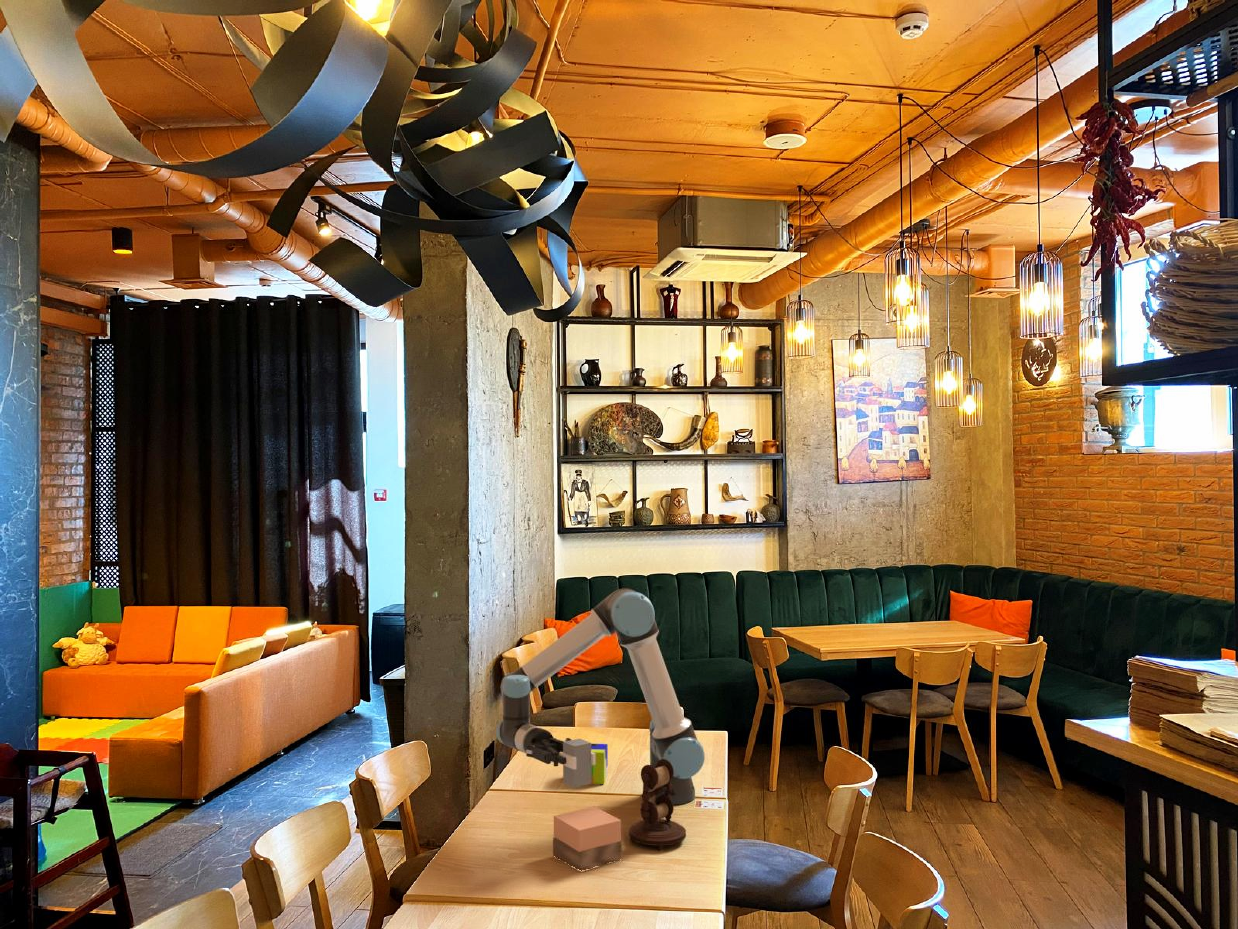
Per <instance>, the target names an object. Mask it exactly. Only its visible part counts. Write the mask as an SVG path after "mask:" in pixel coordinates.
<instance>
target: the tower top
mask: <svg viewBox="0 0 1238 929" xmlns="http://www.w3.org/2000/svg"><path fill="white" fill-rule="evenodd" d="M554 837H555V838H557V839H559V840H560V841H562V842H564V843H565V844H567V845H569V846H570V847H572V848H574V849H575V850H577V851H578V852H582V851H585V850H589V849H593V848H597V847H600V846H604V845H608V844H612V843H615V842H619V841H621V842H622V819H620V818H617V817H616V816H614V815H612V814H609V813H607V812H606V811H604V810H602V809H600V808H598V807H596V806H591V807H587V808H582V809H578V810H573V811H569V812H565V813H561V814H557V815H553V838H554Z"/></svg>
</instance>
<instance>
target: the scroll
mask: <svg viewBox="0 0 1238 929" xmlns="http://www.w3.org/2000/svg"><path fill="white" fill-rule="evenodd" d="M673 775H674V770H673V766H672V764H671V763H670V762H669V761H668V760H666V759H661V760H659V761H658V763H657V765H656V768H654V767H653V766H651V765H650V764H646V765H643V766H642V768H641V771H640V779H641V781H642V794H641V804H640V817H641V819H642V820H640V821H638V822H635V824H633V825H631V826H630V827H629V828H628V837H629V841H630V842H635V843H639V844H641V845H644V846H645V845H647V846H658V848H659V850H660V851H661V850H662V851H663V849H664V846H670V845H671V846H672V845H674V844H679V843H680V842H683V841H684V840H686V836H687V830H686V828H685V827H684V826H683V825H682V824H680V823H678V822H676V821H673V820H671V819H672V815H673V813H674V805H673V803H672V801H671V796H670V792H671V790H672V784H671V783H670V782H671V779H672V777H673ZM662 785H664V786H662ZM660 786H662V787H661V788H657V787H660ZM662 792H666V795H660V796H659V797H658V798H657V800H656V803H655V796H656V795H659V794H661V793H662ZM664 818H665V819H664Z"/></svg>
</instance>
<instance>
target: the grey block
mask: <svg viewBox="0 0 1238 929" xmlns="http://www.w3.org/2000/svg"><path fill="white" fill-rule="evenodd" d="M564 741H565V740H564ZM591 744H592V742H590V741H588V740H584V739H583V738H576V739H571V740H570V741H565V742H563V753H565V754H568V755H571V756H573V757H576V769H575V770H574V769H571V768H569V767H566V766H564V765H562V767H563V768H562V769H563V770H562V773H563V774H562V775H563V776H562V777H563V778H562V780H563V781H562V782H563V784H565V785H567V786H569V787H572V788H575V789H577V788H579V787H583V786H584V787H585V786H588V784H591Z"/></svg>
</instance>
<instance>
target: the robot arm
mask: <svg viewBox="0 0 1238 929" xmlns="http://www.w3.org/2000/svg"><path fill="white" fill-rule="evenodd" d="M655 612H656V611H655V609H654V606H653V604H652V602H651V600H650V599H649V598H648V597H647V596H646V595H644V594H643V593H641V592H639V591H638V592H637V591H636V590H634V589H631V588H627V587H626V588H620V589H617V590H615V591H613V592H612V593H610V594H609V595H607V596H606V597H605V598H604V599H603V600H602V601H601V602H599V603H598V604H597V605H596V606H595V607H593V608H591V610H590V614H589V615H588V616H587V617H586V618H584V619H583V620H581V621H580V622H579V623H577V624H576V625H575V626H574V627H572V628H571V629H570V630H568V631H567V632H565V633H564V634H562V635H561V636H560V637H559V638H557V639H556V640H555V641H553V642H552V643H551V644H549V645H548V646H547V647H545V648H544V649H543V650H542V651H540V652H539V653H538V654H537V655H535V656H533V657H532V658H531V659H529V660H528V661H527V662H525V663H524V664H523V665H521V666H520V667H519V668H518V669H516V670H515V671H514V672H512V671H511V672H509V673H507V674H506V675H505V676H504V677H503V678H502V680H501V683H500V687H499V688H500V693H501V697H502V719H501V720H500V721H499V722H498V724H497V726H496V728H495V735H496V738H497V739H498V741H499V742H500V743H501V744H503V745H504V746H505V747H508V748H511V749H514V750H516V751H519V752H520V753H523V754H526V755H525V756H526V757H529V758H533V759H535V760H537V761H540V762H541V763H544V764H546V765H550V764H551V763H553V766H554V767H558V766H559V764H560V765H562V766H563V765H564V766H566V767H569V768H571V769H574V770H575V769H576V757H573V756H571V755H568V754H565V753H563V742H565V741H570V740H572V739H571V738H569V737H565V740H561V739H558V738H556V737H554V736H553V735H552V733H551V732H550V731H549V730H547V729H544V728H541V727H539V726H536V725H533V724H531V712H530V711H531V707H530V706H531V692H533V691H535V689H537V688H538V687H539V686H541V685H542V684H543V683H545V682H546V681H547V680H548V679H549V678H551V677H553V676H554V675H555V674H556V673H558V672H559V671H561V670H562V669H563V668H565V667H566V666H567V665H569V664H570V663H571V662H573V660H575V659H576V658H578V657H579V656H580V655H582V654H583V653H584V652H586V651H587V650H589V649H590V648H591V647H593V645H595V644H597V643H598V642H599V641H601V640H602V639H603V638H605V637H606V636H607V637H611V636H613V635H614V634H615V635H616V637H617V639H618V643H619V645H620V646H621V647H623V648H625V649H627V652H628V655H629V658H630V660H631V663H632V666H633V668H634V672H635V674H636V677H637V680H638V682H639V686H640V689H641V691H642V694H643V697H644V700H645V702H646V705H647V708H648V711H649V714H650V718H651V721H650V722H649V729H648V730H649V765H651V766H653V767H654V768H656V765H657V763H658V761H659V760H661V759H666V760H668V761H669V762H670V763H671V764H672V766H673V770H674V775H673V777H672V779H671V782H670V783H671V784H672V790H671V792H670V796H671V801H672V803H673V806H674V805H682V804H687V803H691V802H692V801H694V800H695V798H696V788H695V786H694V783H693V777H694V776H696V774H698V773H699V772H700V770H702V768H703V766H704V763H705V758H706V757H705V751H704V747H703V744H702V743H701V741H699V740H698V736H697V735H696V733H695V729H694V726H693V723H692V721H691V720H690V719H689V718H687V717H685V716H684V714H683V712H682V708H681V706H680V703H679V700H678V698H677V694H676V691H675V689H674V686H673V684H672V680H671V677H670V674H669V672H668V669H667V666H666V664H665V660H664V657H663V656H662V655H663V654H662V651H661V650H660V646H659V644H658V641H657V637H658V635H659V632H660V630H659V627H658V625H657V622H656V619H655V618H656V616H655V614H656V613H655ZM591 765H596V754H595V753H592V752H591ZM662 786H664V785H662ZM662 786H660V787H657V788H661V787H662ZM660 795H666V792H662V793H661V794H659V795H656V796H655V804H656V800H657V798H658V797H659V796H660Z"/></svg>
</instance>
